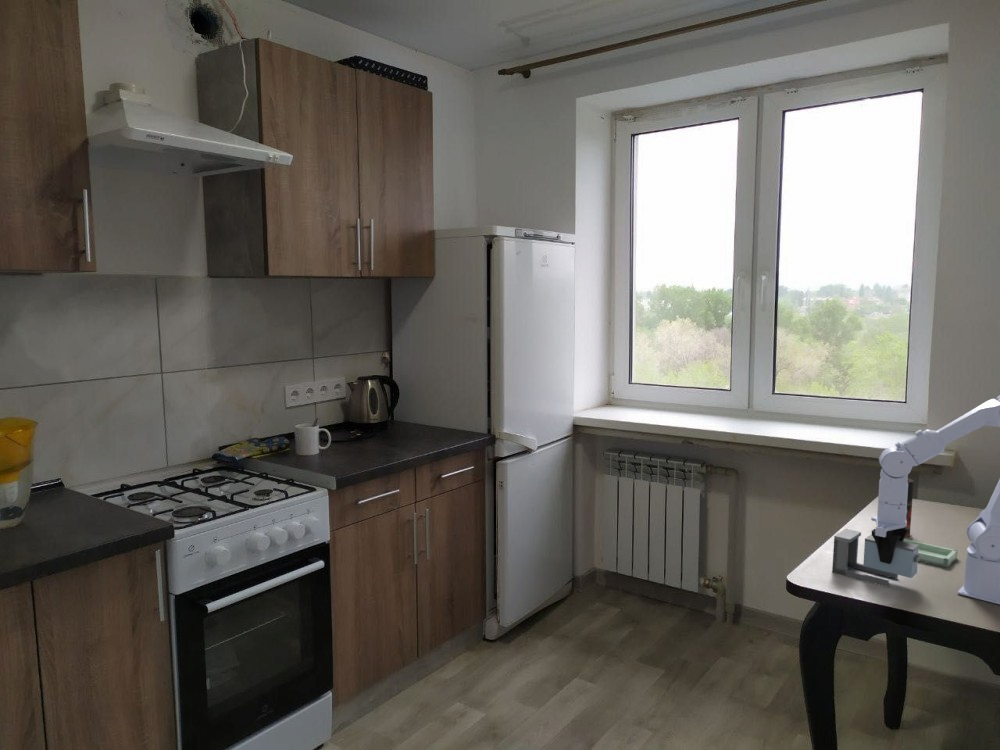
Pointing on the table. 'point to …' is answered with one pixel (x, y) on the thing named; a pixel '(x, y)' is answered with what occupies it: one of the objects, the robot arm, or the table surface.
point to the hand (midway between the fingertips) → (888, 559)
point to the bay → (853, 558)
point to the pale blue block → (901, 562)
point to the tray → (934, 554)
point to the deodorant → (909, 504)
